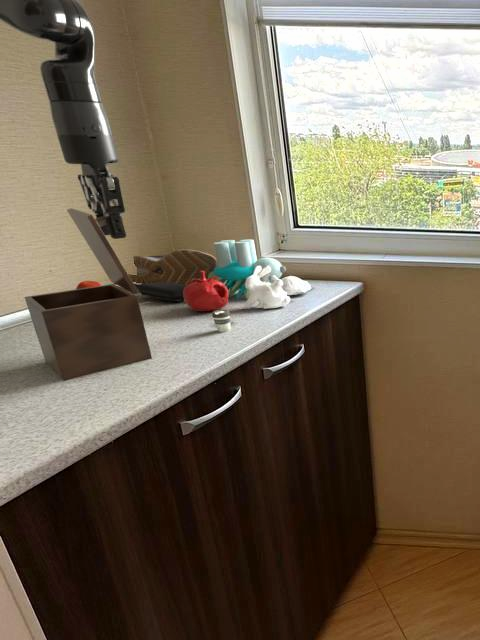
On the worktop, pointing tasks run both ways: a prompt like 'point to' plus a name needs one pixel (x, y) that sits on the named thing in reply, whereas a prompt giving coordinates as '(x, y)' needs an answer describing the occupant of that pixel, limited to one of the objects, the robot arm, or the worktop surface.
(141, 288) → the carrying case
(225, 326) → the grey ridged cylinder
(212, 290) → the pomegranate
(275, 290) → the rabbit figurine
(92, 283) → the red rounded piece
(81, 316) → the chest
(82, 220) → the lid
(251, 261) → the toy
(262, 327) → the worktop surface
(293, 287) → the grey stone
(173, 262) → the athletic shoe
